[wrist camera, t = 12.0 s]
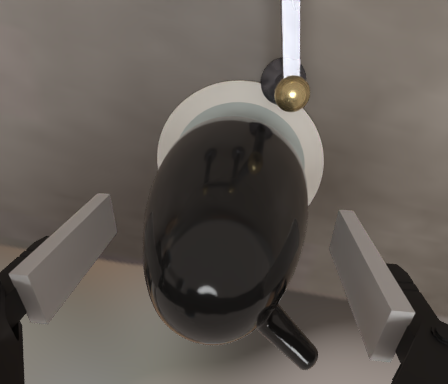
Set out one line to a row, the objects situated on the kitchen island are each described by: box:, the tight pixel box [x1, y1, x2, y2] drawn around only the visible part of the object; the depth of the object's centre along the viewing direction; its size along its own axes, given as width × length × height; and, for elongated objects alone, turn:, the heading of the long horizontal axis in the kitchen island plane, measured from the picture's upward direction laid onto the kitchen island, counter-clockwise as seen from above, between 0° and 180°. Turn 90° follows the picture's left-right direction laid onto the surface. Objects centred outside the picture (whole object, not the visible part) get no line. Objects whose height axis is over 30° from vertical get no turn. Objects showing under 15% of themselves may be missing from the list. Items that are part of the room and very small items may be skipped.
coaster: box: [157, 80, 324, 205], centre depth 23 cm, size 14×14×1 cm
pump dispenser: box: [143, 116, 318, 370], centre depth 16 cm, size 10×10×15 cm
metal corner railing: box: [261, 0, 310, 112], centre depth 16 cm, size 11×10×8 cm
